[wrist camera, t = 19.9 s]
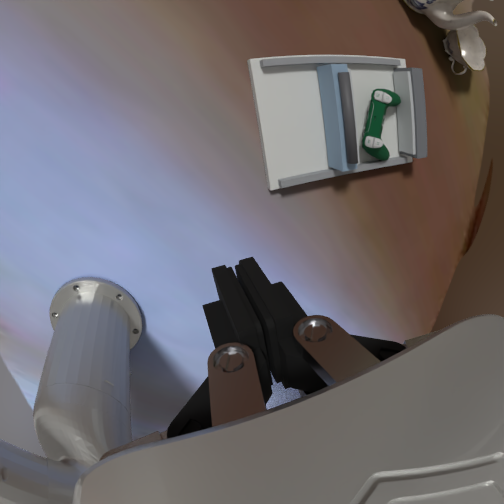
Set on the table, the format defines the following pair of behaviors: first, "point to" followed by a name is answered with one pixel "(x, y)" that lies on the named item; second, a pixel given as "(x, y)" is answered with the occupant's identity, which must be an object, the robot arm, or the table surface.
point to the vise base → (312, 122)
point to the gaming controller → (378, 122)
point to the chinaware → (457, 31)
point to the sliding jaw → (339, 116)
